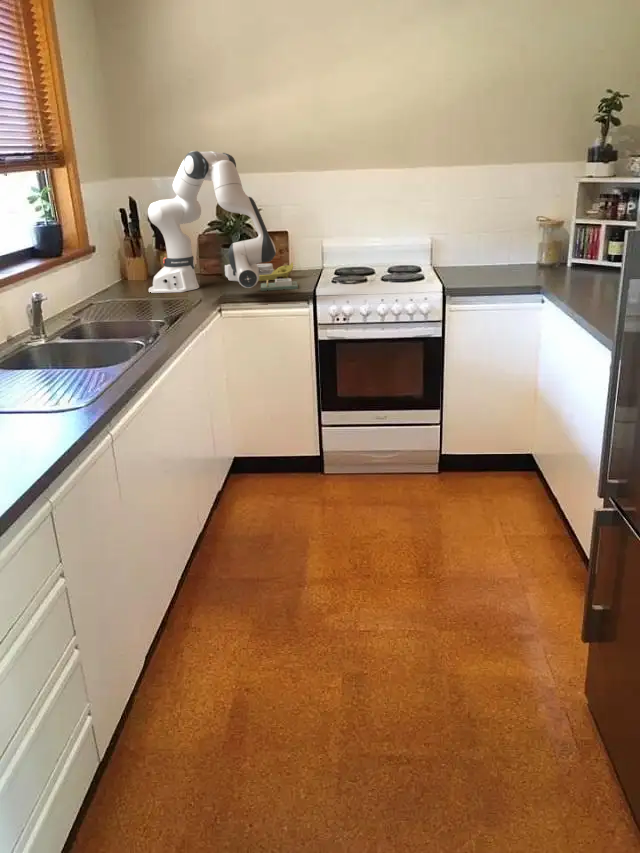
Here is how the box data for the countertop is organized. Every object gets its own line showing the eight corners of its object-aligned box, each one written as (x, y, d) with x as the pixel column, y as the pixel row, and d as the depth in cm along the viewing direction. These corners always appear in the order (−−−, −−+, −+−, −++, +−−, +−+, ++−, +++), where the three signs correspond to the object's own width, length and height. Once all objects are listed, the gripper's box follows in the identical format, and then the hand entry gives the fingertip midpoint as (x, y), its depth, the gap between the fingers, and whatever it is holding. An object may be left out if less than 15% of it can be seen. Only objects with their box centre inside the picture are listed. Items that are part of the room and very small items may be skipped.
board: (261, 290, 317) (260, 283, 316) (260, 286, 328) (260, 278, 327) (297, 288, 318) (297, 281, 317) (296, 284, 329) (296, 276, 328)
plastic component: (250, 277, 339) (251, 264, 346) (253, 290, 345) (254, 277, 352) (292, 272, 338) (293, 260, 344) (295, 285, 343) (295, 273, 350)
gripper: (273, 263, 299) (273, 258, 312) (223, 265, 298) (224, 259, 311) (274, 278, 302) (273, 273, 315) (224, 280, 301) (226, 274, 313)
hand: (249, 266), depth 313 cm, fingers closed on plug, 4 cm apart
